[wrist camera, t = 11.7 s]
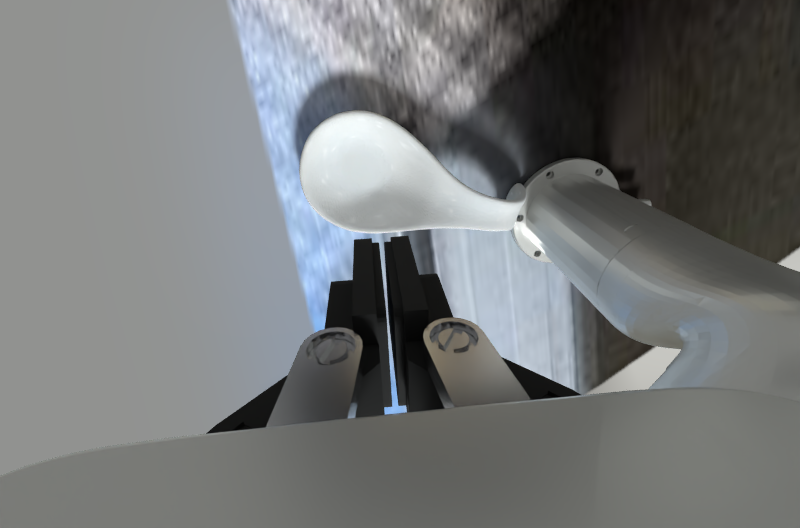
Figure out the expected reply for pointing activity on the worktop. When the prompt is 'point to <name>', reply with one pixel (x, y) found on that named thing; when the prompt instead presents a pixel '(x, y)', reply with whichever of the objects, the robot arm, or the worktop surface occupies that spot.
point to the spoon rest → (391, 181)
